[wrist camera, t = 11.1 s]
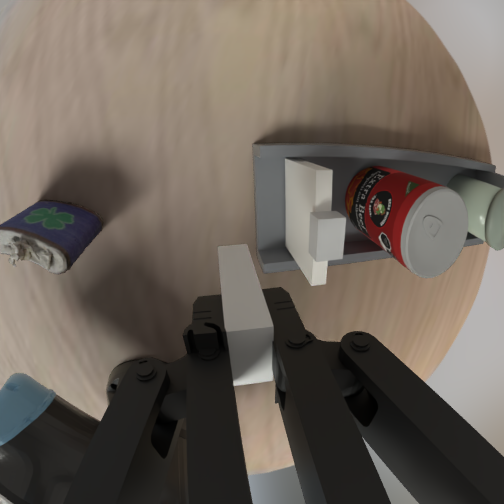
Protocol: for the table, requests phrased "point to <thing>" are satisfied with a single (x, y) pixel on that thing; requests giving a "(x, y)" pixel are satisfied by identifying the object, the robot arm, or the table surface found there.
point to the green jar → (482, 208)
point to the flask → (49, 234)
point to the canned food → (409, 218)
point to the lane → (342, 191)
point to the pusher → (312, 219)
